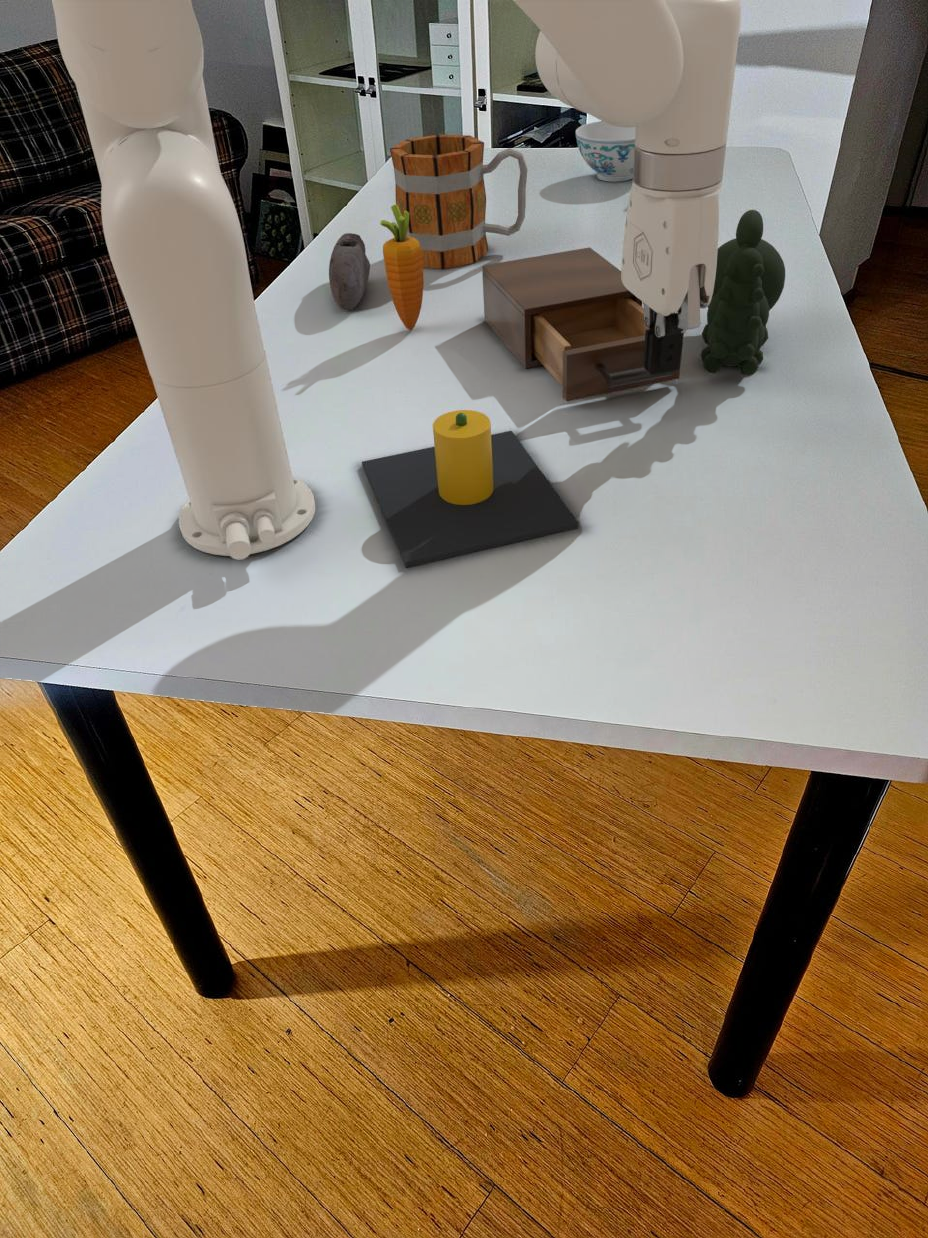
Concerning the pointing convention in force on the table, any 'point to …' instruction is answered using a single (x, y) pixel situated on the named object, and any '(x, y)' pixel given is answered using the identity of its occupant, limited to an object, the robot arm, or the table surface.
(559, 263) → the cabinet
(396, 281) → the carrot
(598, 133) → the chinaware
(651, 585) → the table surface
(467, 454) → the pepper
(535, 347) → the drawer
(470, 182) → the mug
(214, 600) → the table surface
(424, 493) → the mat
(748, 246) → the toy figurine
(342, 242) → the perforated stone tool
